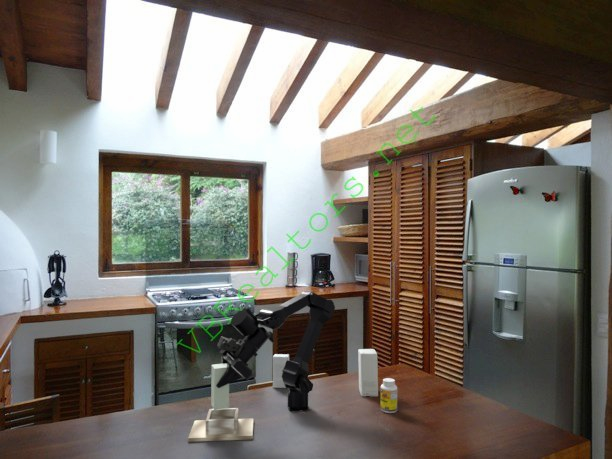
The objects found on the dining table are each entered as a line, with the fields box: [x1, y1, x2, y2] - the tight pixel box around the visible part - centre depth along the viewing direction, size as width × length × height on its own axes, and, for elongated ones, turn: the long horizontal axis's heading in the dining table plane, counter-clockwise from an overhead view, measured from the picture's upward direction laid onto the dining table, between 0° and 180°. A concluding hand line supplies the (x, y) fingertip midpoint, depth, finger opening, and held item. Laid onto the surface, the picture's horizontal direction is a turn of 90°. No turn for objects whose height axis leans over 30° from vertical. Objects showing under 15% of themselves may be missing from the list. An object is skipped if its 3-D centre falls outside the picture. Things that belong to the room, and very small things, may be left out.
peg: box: [210, 363, 230, 410], centre depth 129 cm, size 4×4×12 cm
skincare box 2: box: [357, 348, 379, 398], centre depth 161 cm, size 8×7×16 cm
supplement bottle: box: [380, 377, 398, 414], centre depth 144 cm, size 6×6×10 cm
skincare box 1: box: [272, 353, 290, 389], centre depth 167 cm, size 6×4×12 cm
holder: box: [187, 407, 254, 443], centre depth 128 cm, size 18×12×5 cm, turn 96°
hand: (215, 384), depth 128 cm, fingers closed on peg, 4 cm apart
